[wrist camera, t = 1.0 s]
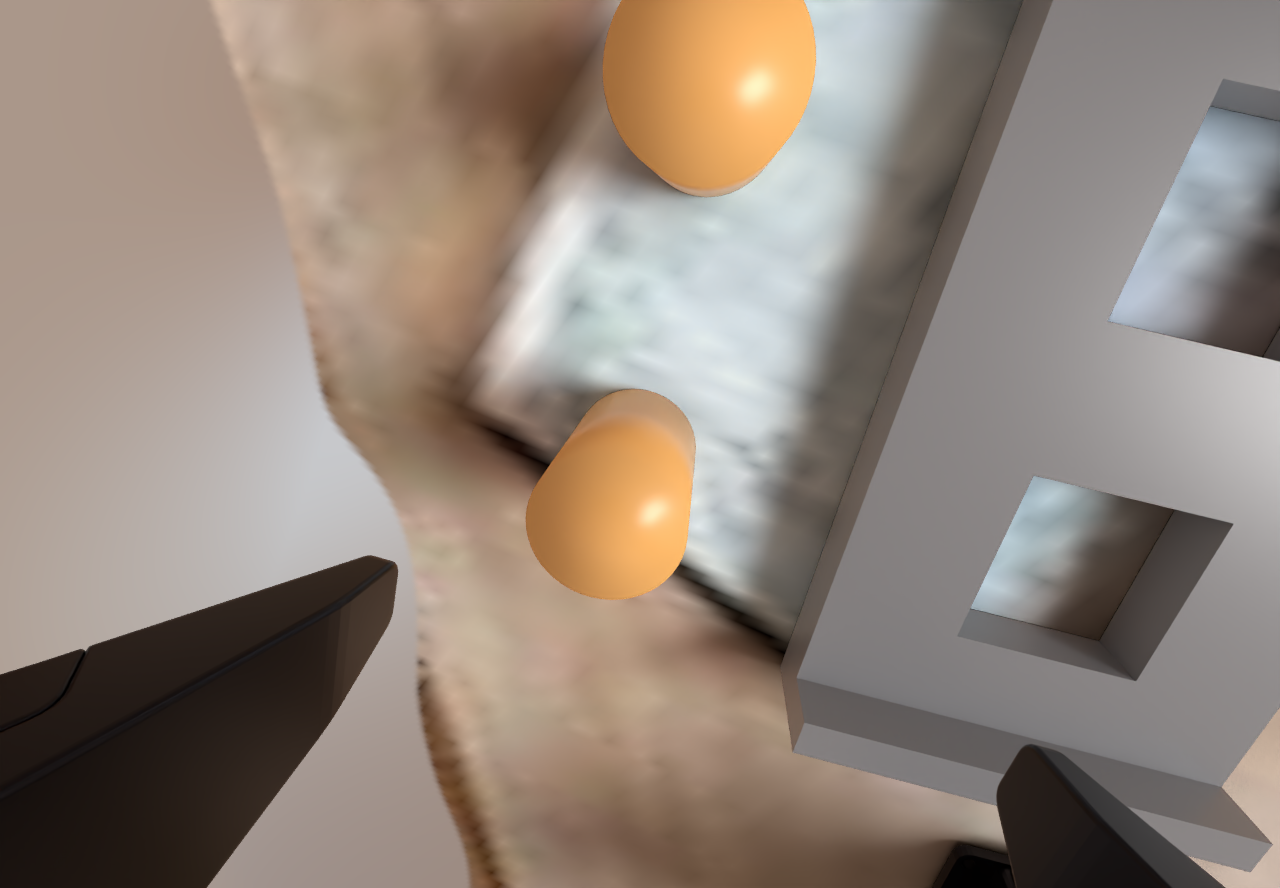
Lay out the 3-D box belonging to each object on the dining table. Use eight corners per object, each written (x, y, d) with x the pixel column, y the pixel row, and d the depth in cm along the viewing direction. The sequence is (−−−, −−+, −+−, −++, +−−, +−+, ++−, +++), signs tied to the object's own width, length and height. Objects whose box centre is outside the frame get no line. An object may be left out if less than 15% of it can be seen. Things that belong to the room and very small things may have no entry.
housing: (1161, 764, 22) (1250, 871, 19) (780, 666, 23) (792, 752, 19) (1688, -16, 14) (2036, -102, 10) (1074, -141, 15) (1196, -266, 11)
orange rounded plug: (760, 211, 18) (779, 204, 12) (626, 180, 18) (585, 160, 13) (802, 54, 17) (845, -33, 11) (656, 22, 17) (626, -80, 11)
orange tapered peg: (679, 514, 22) (666, 616, 16) (567, 486, 22) (515, 577, 16) (708, 405, 20) (705, 475, 14) (588, 376, 20) (539, 434, 15)
